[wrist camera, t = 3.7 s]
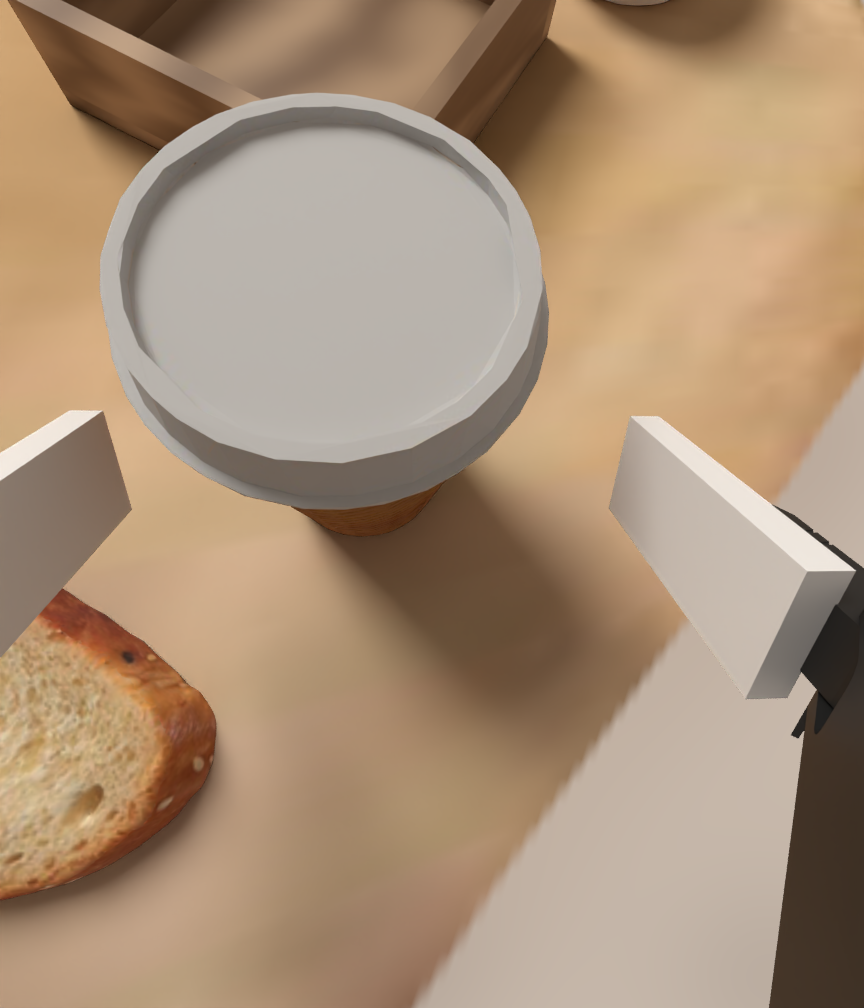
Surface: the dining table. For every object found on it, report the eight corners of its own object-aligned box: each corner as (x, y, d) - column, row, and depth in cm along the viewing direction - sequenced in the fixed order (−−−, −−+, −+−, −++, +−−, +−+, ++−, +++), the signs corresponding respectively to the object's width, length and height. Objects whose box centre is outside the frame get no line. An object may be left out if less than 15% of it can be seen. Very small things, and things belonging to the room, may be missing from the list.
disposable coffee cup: (422, 616, 20) (457, 578, 9) (204, 517, 21) (-40, 356, 9) (509, 414, 23) (627, 177, 11) (313, 330, 23) (232, 17, 12)
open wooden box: (70, 104, 25) (3, -6, 21) (273, -92, 30) (252, -215, 26) (388, 266, 24) (386, 184, 20) (547, 36, 29) (574, -71, 25)
